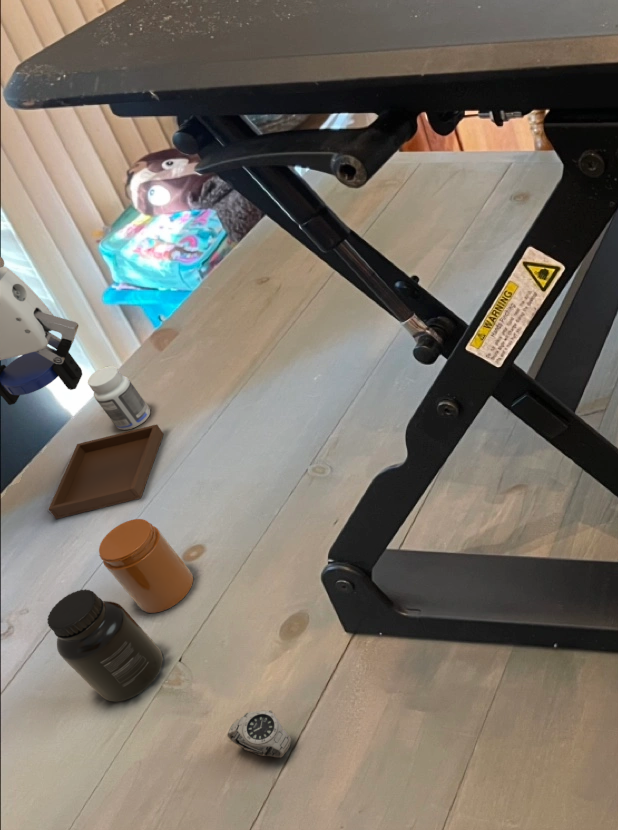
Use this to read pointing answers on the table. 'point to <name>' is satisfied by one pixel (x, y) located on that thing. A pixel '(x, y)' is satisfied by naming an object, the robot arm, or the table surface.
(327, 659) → the table surface
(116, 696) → the supplement bottle
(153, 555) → the jam jar
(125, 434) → the walnut tray
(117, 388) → the pill bottle
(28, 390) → the jar lid
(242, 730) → the wristwatch
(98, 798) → the table surface
